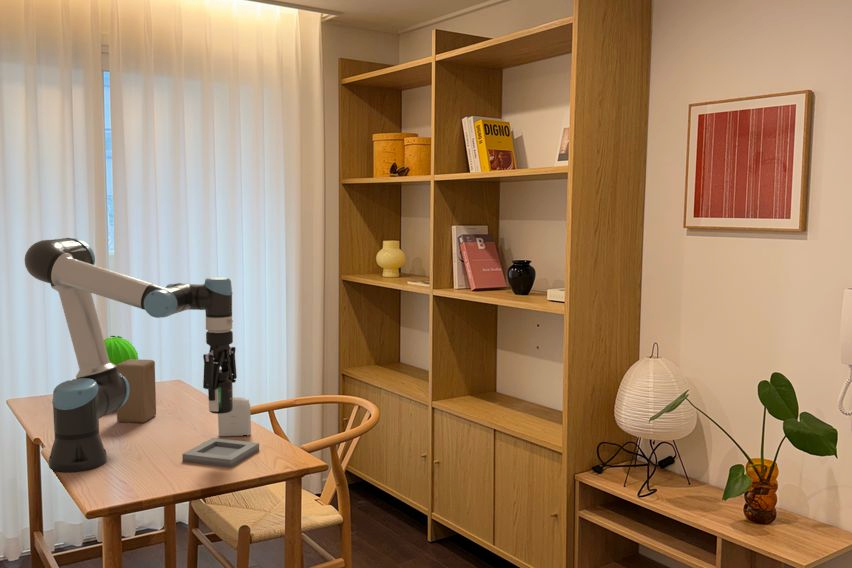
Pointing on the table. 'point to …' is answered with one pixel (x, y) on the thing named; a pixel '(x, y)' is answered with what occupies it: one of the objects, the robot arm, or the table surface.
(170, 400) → the table surface
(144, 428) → the table surface
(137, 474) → the table surface
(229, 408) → the supplement bottle
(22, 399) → the table surface
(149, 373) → the wooden block
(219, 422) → the photo printer
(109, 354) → the potted cactus
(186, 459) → the base plate
